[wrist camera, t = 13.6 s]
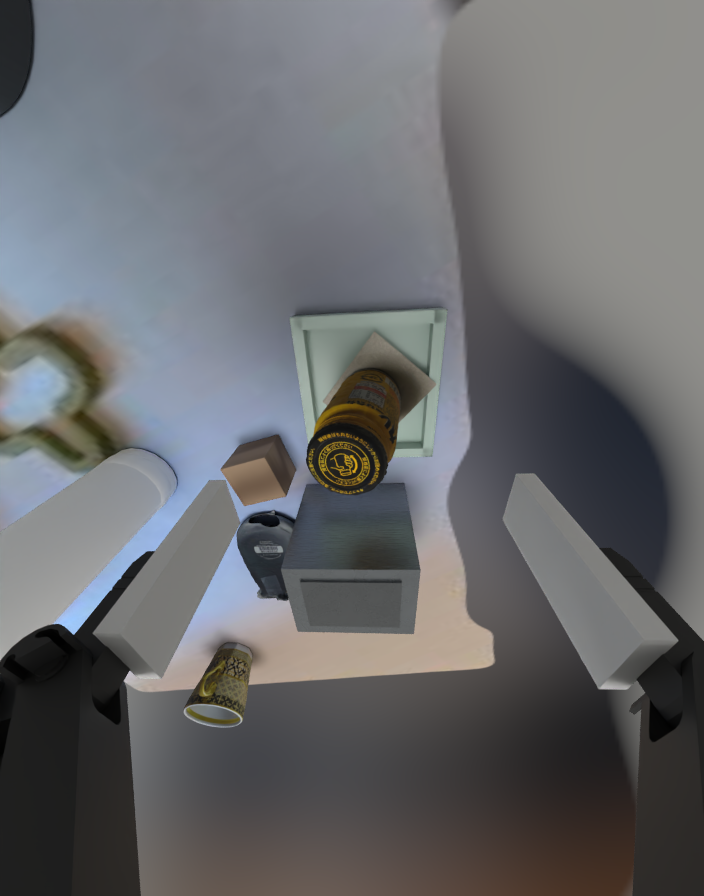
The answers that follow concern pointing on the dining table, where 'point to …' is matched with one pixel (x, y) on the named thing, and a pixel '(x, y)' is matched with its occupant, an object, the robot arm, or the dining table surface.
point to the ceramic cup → (222, 688)
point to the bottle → (75, 539)
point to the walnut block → (260, 470)
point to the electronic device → (265, 554)
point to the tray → (342, 337)
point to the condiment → (364, 418)
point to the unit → (353, 562)
